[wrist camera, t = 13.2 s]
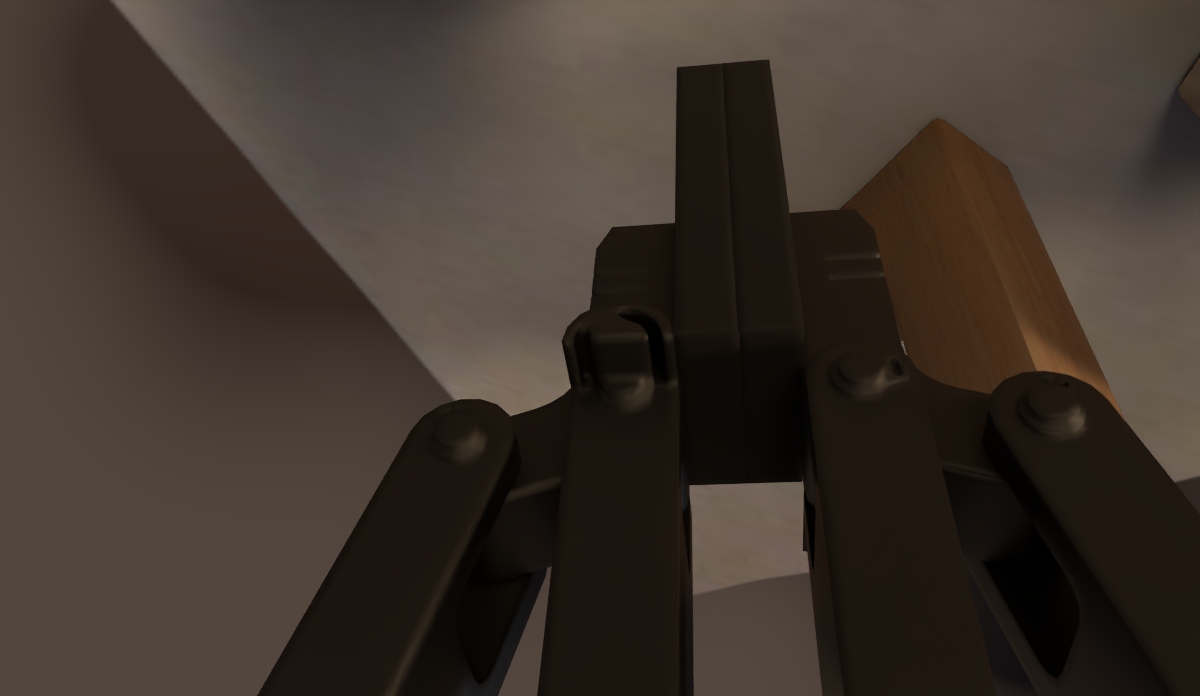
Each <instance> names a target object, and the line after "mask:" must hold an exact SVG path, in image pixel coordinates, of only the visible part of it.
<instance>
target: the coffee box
mask: <svg viewBox="0 0 1200 696" xmlns="http://www.w3.org/2000/svg"><path fill="white" fill-rule="evenodd" d="M1178 93H1179V94H1180V96H1181V97H1182V98H1183V99H1184V100H1185V102H1186V103H1187V104H1188V105H1189V106H1190V107H1191V109H1192V110H1193V111H1194V112H1195V114H1196V115H1197V116H1198V117H1199V119H1200V58H1199V59H1198V61H1197V62H1196V64H1195V65H1194V67H1193V68H1192V69H1191V71H1190V72H1189V74H1188V75H1187V77H1186V78H1185V80H1184V81H1183V83H1182V84H1181V86H1180V87H1179V88H1178Z"/></svg>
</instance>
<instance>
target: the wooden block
mask: <svg viewBox="0 0 1200 696" xmlns="http://www.w3.org/2000/svg"><path fill="white" fill-rule="evenodd" d="M845 209H855V210H856V211H857V212H858V213H859V214H860V215H861V216H862V217H863V218H864V219H865V220H866V221H867V222H868V223H869V224H870V225H871V226H872V227H873V228H874V230H875V235H876V239H877V243H878V247H879V252H880V258H881V260H882V265H883V269H884V277H886V282H887V286H888V290H889V294H890V299H891V303H892V307H893V312H894V316H895V320H896V324H897V329H898V333H899V337H900V341H901V342H902V341H903V342H904V345H905V349H906V353H907V356H908V357H909V358H910V359H912V361H913V363H914V365H915V367H916V368H917V369H919V370H920V371H921V372H923V373H924V374H925V375H927V376H928V377H931V378H933V379H935V380H937V381H939V382H941V383H944V384H947V385H951V386H954V387H958V388H962V389H968V390H973V391H978V392H983V393H988V394H992V391H993V390H994V389H995V388H996V387H997V386H998V385H999V384H1000V383H1001V382H1002V381H1003V380H1004V379H1007V378H1010V377H1012V376H1015V375H1017V374H1020V373H1022V372H1034V371H1050V372H1056V373H1061V374H1067V375H1071V376H1073V377H1075V378H1077V379H1079V380H1082V381H1084V382H1086V383H1088V384H1090V385H1092V386H1093V387H1094V388H1095V389H1097V390H1098V391H1099V392H1100V393H1101V394H1102V395H1104V396H1105V397H1106V398H1107V399H1108V400H1109V401H1110V403H1111V404H1112V405H1113V406H1114V408H1115V409H1116V410H1117V411H1118V413H1119V414H1120V415H1121V416H1122V413H1121V411H1120V409H1119V407H1118V405H1117V403H1116V400H1115V398H1114V396H1113V394H1112V392H1111V390H1110V387H1109V385H1108V383H1107V381H1106V379H1105V377H1104V374H1103V372H1102V370H1101V368H1100V366H1099V364H1098V361H1097V359H1096V357H1095V355H1094V353H1093V351H1092V348H1091V346H1090V344H1089V342H1088V340H1087V338H1086V336H1085V333H1084V331H1083V329H1082V327H1081V325H1080V323H1079V320H1078V318H1077V316H1076V314H1075V312H1074V310H1073V307H1072V305H1071V303H1070V301H1069V299H1068V297H1067V294H1066V292H1065V290H1064V288H1063V286H1062V284H1061V281H1060V279H1059V277H1058V275H1057V273H1056V270H1055V268H1054V266H1053V264H1052V262H1051V260H1050V257H1049V255H1048V253H1047V251H1046V249H1045V246H1044V244H1043V242H1042V240H1041V238H1040V236H1039V233H1038V231H1037V229H1036V227H1035V225H1034V223H1033V220H1032V218H1031V216H1030V214H1029V212H1028V210H1027V208H1026V205H1025V203H1024V201H1023V199H1022V197H1021V195H1020V193H1019V191H1018V188H1017V186H1016V184H1015V182H1014V180H1013V178H1012V176H1011V173H1010V171H1009V169H1008V167H1007V166H1006V165H1004V164H1003V163H1002V162H1000V161H999V160H998V159H996V158H995V157H994V156H992V155H991V154H989V153H988V152H987V151H985V150H984V149H983V148H981V147H980V146H978V145H977V144H976V143H974V142H973V141H972V140H970V139H969V138H967V137H966V136H965V135H963V134H962V133H961V132H959V131H958V130H957V129H955V128H954V127H952V126H951V125H950V124H948V123H947V122H946V121H943V120H940V119H935V120H933V121H932V122H931V123H930V124H929V125H928V126H926V127H925V128H924V129H923V130H922V131H921V132H920V133H919V134H918V135H917V136H916V137H915V138H914V139H913V140H912V141H911V142H910V143H909V144H908V145H907V146H906V147H905V148H904V149H903V150H902V151H901V152H900V153H899V154H898V155H897V156H896V157H895V158H894V159H893V160H892V161H890V162H889V163H888V164H887V165H886V166H885V167H884V168H883V169H882V170H881V171H880V172H879V173H878V174H877V175H876V176H875V177H874V178H873V179H872V180H871V181H870V182H869V183H868V184H867V185H866V186H865V187H864V188H863V189H862V190H861V191H860V192H859V193H858V194H857V195H856V196H854V197H853V198H852V199H851V200H850V201H849V202H848V203H847V204H846V205H845V206H844V207H843V208H842V209H841V210H845ZM1122 418H1123V416H1122ZM1123 419H1124V418H1123Z"/></svg>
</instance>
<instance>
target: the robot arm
mask: <svg viewBox="0 0 1200 696" xmlns="http://www.w3.org/2000/svg"><path fill="white" fill-rule="evenodd" d="M562 345H563V350H564V355H565V359H566V364H567V369H568V374H569V379H570V384H571V388H570V389H569V390H568V391H567V392H566V393H565V394H564V395H563V396H561V397H559V398H558V399H556V400H555V401H553V402H551V403H549V404H547V405H544V406H542V407H539V408H537V409H534V410H530V411H527V412H524V413H520V414H517V415H513V416H509V414H507V413H506V412H505V411H504V410H503V409H502V408H501V407H500V406H498V405H497V404H494V403H491V402H488V401H485V400H481V399H460V400H457V401H454V402H450V403H447V404H443V405H440V406H439V407H437V408H435V409H434V410H432V411H431V412H429V413H427V414H426V415H424V416H423V417H422V418H421V419H420V420H419V422H418V423H417V424H416V425H415V426H414V427H413V429H412V430H411V431H410V433H409V435H408V436H407V438H406V440H405V442H404V443H403V445H402V447H401V449H400V450H399V452H398V454H397V455H396V457H395V459H394V461H393V462H392V464H391V466H390V468H389V469H388V471H387V473H386V475H385V476H384V478H383V480H382V481H381V483H380V485H379V487H378V488H377V490H376V492H375V493H374V495H373V497H372V499H371V500H370V502H369V504H368V505H367V507H366V509H365V511H364V512H363V514H362V516H361V518H360V519H359V521H358V523H357V525H356V526H355V528H354V530H353V531H352V533H351V535H350V537H349V538H348V540H347V542H346V543H345V545H344V547H343V549H342V550H341V552H340V554H339V556H338V557H337V559H336V561H335V562H334V564H333V566H332V568H331V569H330V571H329V573H328V575H327V576H326V578H325V580H324V581H323V583H322V585H321V587H320V588H319V590H318V592H317V593H316V595H315V597H314V599H313V600H312V602H311V604H310V606H309V607H308V609H307V611H306V613H305V614H304V616H303V618H302V619H301V621H300V623H299V625H298V626H297V628H296V630H295V631H294V633H293V635H292V637H291V639H290V640H289V642H288V644H287V645H286V647H285V649H284V650H283V652H282V654H281V656H280V657H279V659H278V661H277V662H276V664H275V666H274V668H273V669H272V671H271V673H270V675H269V676H268V678H267V680H266V681H265V683H264V685H263V687H262V688H261V690H260V692H259V694H258V695H257V696H498V694H499V691H500V689H501V687H502V684H503V681H504V679H505V676H506V674H507V672H508V669H509V666H510V664H511V661H512V659H513V656H514V654H515V651H516V649H517V646H518V644H519V641H520V639H521V636H522V634H523V631H524V629H525V626H526V624H527V621H528V619H529V616H530V614H531V611H532V609H533V606H534V604H535V601H536V599H537V596H538V594H539V591H540V589H541V586H542V584H543V581H544V579H545V576H546V572H547V567H550V566H552V570H551V578H550V587H549V596H548V606H547V614H546V623H545V632H544V641H543V650H542V658H541V667H540V677H539V685H538V695H537V696H694V683H693V680H694V678H693V579H692V515H691V505H690V496H689V485H711V484H742V483H773V482H802V475H803V484H804V518H803V551H807V553H808V562H809V572H810V581H811V591H812V600H813V610H814V619H815V629H816V638H817V648H818V658H819V667H820V677H821V686H822V695H823V696H997V694H996V690H995V686H994V681H993V677H992V673H991V669H990V665H989V661H988V657H987V652H986V648H985V644H984V640H983V636H982V632H981V628H980V624H979V619H978V615H977V611H976V607H975V603H974V599H973V594H972V590H971V586H970V582H969V578H968V574H967V570H966V565H965V561H966V564H967V566H968V568H969V570H970V572H971V573H972V575H973V577H974V579H975V581H976V583H977V584H978V586H979V588H980V590H981V592H982V594H983V595H984V597H985V599H986V601H987V603H988V604H989V606H990V608H991V610H992V612H993V613H994V615H995V617H996V619H997V621H998V623H999V624H1000V626H1001V628H1002V630H1003V632H1004V634H1005V635H1006V637H1007V639H1008V641H1009V643H1010V645H1011V646H1012V648H1013V650H1014V652H1015V654H1016V655H1017V657H1018V659H1019V661H1020V663H1021V664H1022V666H1023V668H1024V670H1025V672H1026V673H1027V675H1028V677H1029V679H1030V681H1031V683H1032V685H1033V686H1034V688H1035V690H1036V692H1037V694H1038V695H1039V696H1200V514H1199V513H1198V511H1197V510H1196V509H1195V508H1194V506H1193V505H1192V504H1191V503H1190V501H1189V500H1188V499H1187V498H1186V497H1185V495H1184V494H1183V493H1182V491H1181V490H1180V489H1179V488H1178V486H1177V485H1176V484H1175V483H1174V481H1173V480H1172V479H1171V478H1170V476H1169V475H1168V474H1167V473H1166V471H1165V470H1164V469H1163V468H1162V466H1161V465H1160V464H1159V463H1158V461H1157V460H1156V459H1155V458H1154V456H1153V455H1152V454H1151V453H1150V451H1149V450H1148V449H1147V448H1146V446H1145V445H1144V444H1143V443H1142V441H1141V440H1140V439H1139V438H1138V436H1137V435H1136V434H1135V433H1134V431H1133V430H1132V429H1131V428H1130V426H1129V425H1128V424H1127V423H1126V421H1125V420H1124V419H1123V418H1122V416H1121V415H1120V414H1119V413H1118V411H1117V410H1116V409H1115V408H1114V406H1113V405H1112V404H1111V403H1110V401H1109V400H1108V399H1107V398H1106V397H1105V396H1104V395H1102V394H1101V393H1100V392H1099V391H1098V390H1097V389H1095V388H1094V387H1093V386H1092V385H1090V384H1088V383H1086V382H1084V381H1082V380H1079V379H1077V378H1075V377H1073V376H1071V375H1067V374H1061V373H1056V372H1050V371H1034V372H1022V373H1020V374H1017V375H1015V376H1012V377H1010V378H1007V379H1004V380H1003V381H1002V382H1001V383H1000V384H999V385H998V386H997V387H996V388H995V389H994V390H993V391H992V394H988V393H983V392H978V391H973V390H968V389H962V388H958V387H954V386H951V385H947V384H944V383H941V382H939V381H937V380H935V379H933V378H931V377H928V376H927V375H925V374H924V373H923V372H921V371H920V370H919V369H917V368H916V367H915V365H914V363H913V361H912V359H910V358H909V357H908V356H907V355H905V353H904V350H903V348H902V345H901V341H900V337H899V333H898V329H897V324H896V320H895V316H894V312H893V307H892V303H891V299H890V294H889V290H888V286H887V282H886V277H884V269H883V265H882V260H881V258H880V252H879V247H878V243H877V239H876V235H875V230H874V228H873V227H872V226H871V225H870V224H869V223H868V222H867V221H866V220H865V219H864V218H863V217H862V216H861V215H860V214H859V213H858V212H857V211H856V210H855V209H845V210H830V211H815V212H800V213H789V205H788V198H787V190H786V182H785V175H784V167H783V160H782V152H781V145H780V137H779V129H778V122H777V114H776V107H775V99H774V92H773V84H772V76H771V69H770V61H769V60H758V61H746V62H734V63H723V64H711V65H700V66H688V67H677V103H676V188H675V223H669V224H654V225H639V226H623V227H612V228H611V230H610V231H609V233H608V234H607V235H606V237H605V238H604V239H603V241H602V242H601V243H600V245H599V246H598V248H597V249H596V257H595V266H594V277H593V285H592V297H591V304H590V310H588V311H586V312H584V313H582V314H580V315H579V316H578V317H577V318H576V319H575V320H574V321H573V322H572V323H571V324H570V325H569V326H568V327H567V329H566V332H565V334H564V336H563V339H562ZM963 556H964V558H965V561H964V558H963Z"/></svg>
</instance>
